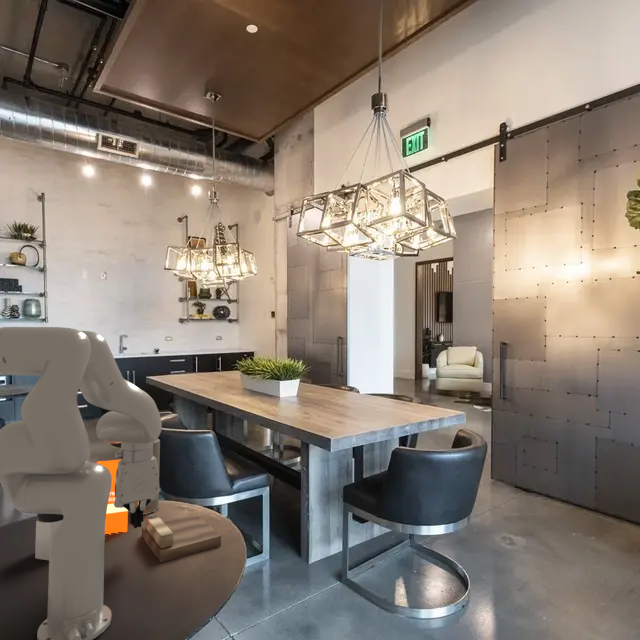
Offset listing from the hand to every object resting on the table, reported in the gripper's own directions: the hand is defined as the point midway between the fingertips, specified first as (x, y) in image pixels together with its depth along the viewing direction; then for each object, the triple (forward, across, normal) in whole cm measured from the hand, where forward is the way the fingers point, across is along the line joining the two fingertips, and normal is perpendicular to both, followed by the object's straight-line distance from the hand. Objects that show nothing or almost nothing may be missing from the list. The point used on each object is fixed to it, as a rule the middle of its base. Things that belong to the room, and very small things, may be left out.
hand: (136, 525), depth 114 cm
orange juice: (+9, -2, +22) cm, 23 cm away
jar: (+8, -17, +15) cm, 24 cm away
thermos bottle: (+9, +10, +31) cm, 34 cm away
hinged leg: (+5, +6, +3) cm, 9 cm away
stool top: (+8, +12, +3) cm, 15 cm away
